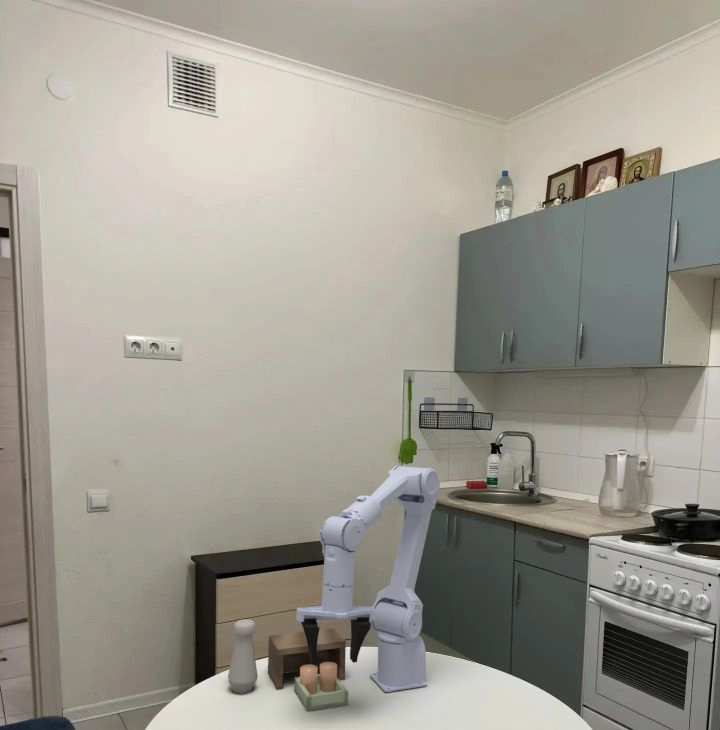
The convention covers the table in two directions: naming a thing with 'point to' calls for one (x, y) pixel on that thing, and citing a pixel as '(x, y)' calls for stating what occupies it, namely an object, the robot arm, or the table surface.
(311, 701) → the tray
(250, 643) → the salt shaker
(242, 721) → the table surface
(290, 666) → the shelf
